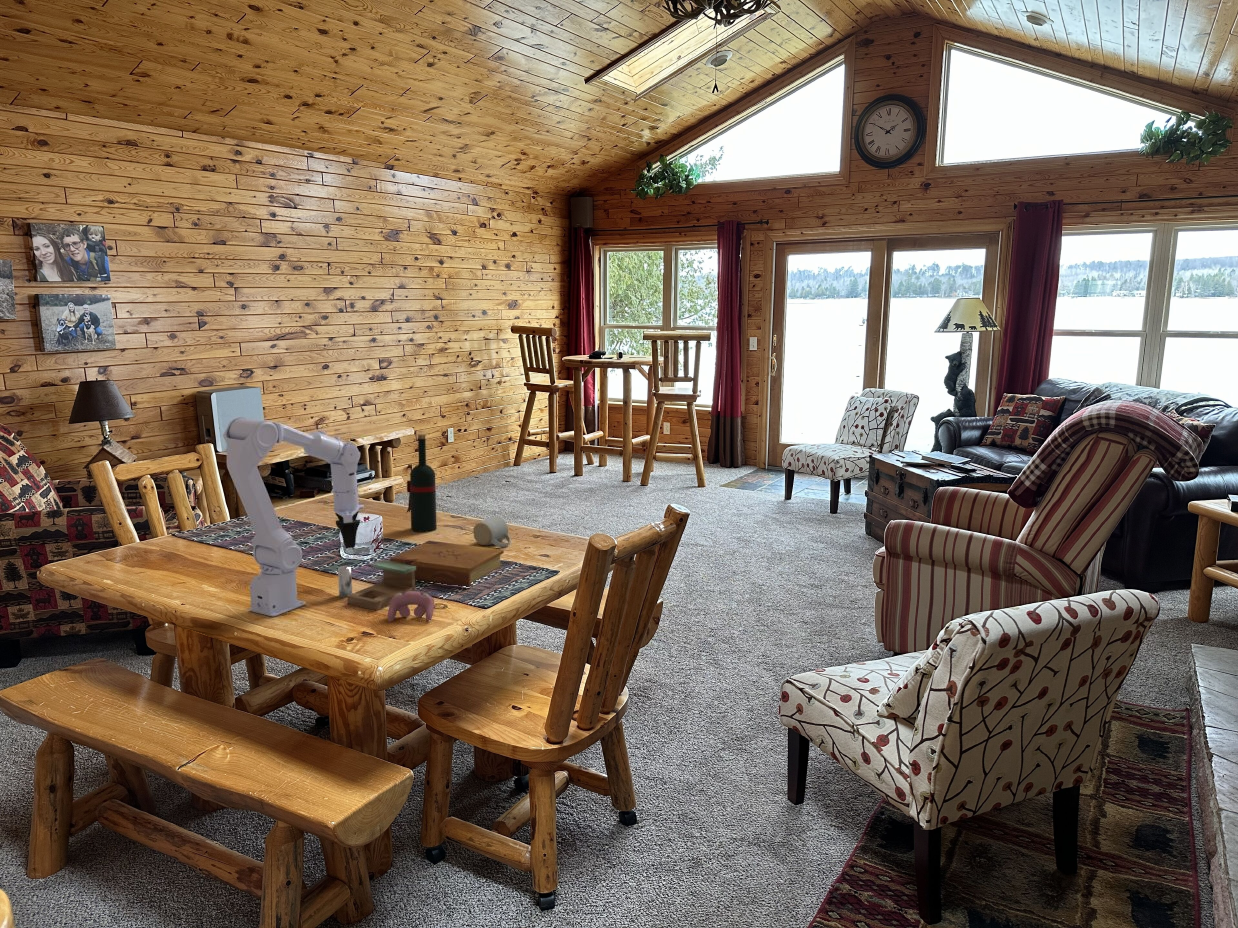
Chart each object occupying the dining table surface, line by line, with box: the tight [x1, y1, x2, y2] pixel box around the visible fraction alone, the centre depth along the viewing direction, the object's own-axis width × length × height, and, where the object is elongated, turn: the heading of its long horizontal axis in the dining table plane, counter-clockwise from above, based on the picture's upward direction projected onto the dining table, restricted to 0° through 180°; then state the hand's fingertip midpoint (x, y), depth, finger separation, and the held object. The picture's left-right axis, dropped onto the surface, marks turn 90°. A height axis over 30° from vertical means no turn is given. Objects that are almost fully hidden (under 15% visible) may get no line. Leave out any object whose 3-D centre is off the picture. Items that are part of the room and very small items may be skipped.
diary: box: [389, 540, 505, 587], centre depth 212 cm, size 23×19×6 cm
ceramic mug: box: [472, 515, 512, 548], centre depth 240 cm, size 11×8×8 cm
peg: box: [337, 565, 353, 599], centre depth 193 cm, size 3×3×7 cm
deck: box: [346, 559, 416, 611], centre depth 192 cm, size 13×10×7 cm
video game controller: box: [387, 590, 435, 623], centre depth 181 cm, size 10×5×7 cm, turn 92°
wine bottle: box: [405, 433, 438, 533], centre depth 253 cm, size 8×10×30 cm
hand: (349, 542), depth 201 cm, fingers open, 7 cm apart
